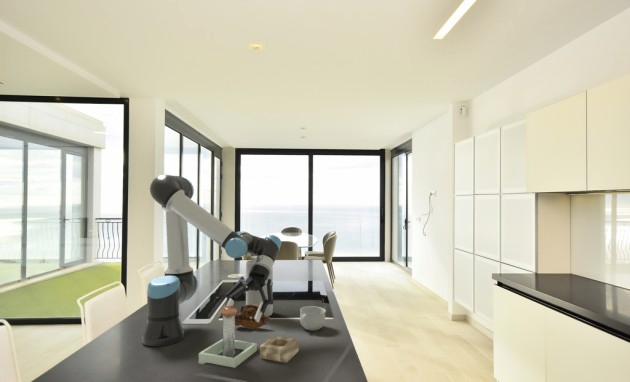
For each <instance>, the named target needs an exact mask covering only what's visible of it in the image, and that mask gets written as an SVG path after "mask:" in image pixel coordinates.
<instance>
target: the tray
mask: <svg viewBox="0 0 630 382" xmlns="http://www.w3.org/2000/svg"><path fill="white" fill-rule="evenodd" d="M257 347H258V343H256V342H249V341H244V340H236V339H235V349H238V350H242V352H239V354H237V355H235V356H234V357H226V356H223V355H220V354H221V353H223V338H222V339H220V340H218V341H216V342H215V343H213V344H211V345H210V346H208V347H207V348H205V349H202V351H200V352H199V353H198V365H204V364H206V363H207V364H214V365H217V366H224V367H229V368H234V369H236V368H237V367H238V366H239V365H240V364H241V363H243V362H245V361H246V360H247V359H248V358H250V357H251V355H253V354H255V353H256V352H257V351H258V348H257Z"/></svg>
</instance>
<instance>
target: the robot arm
mask: <svg viewBox="0 0 630 382" xmlns="http://www.w3.org/2000/svg"><path fill="white" fill-rule="evenodd" d="M149 186H150V187H149V193H150V196H151V197H152V199H153V200H155V202H157V204H159V205H161V209H162V210H163V211H164V212H165V222H166V223H165V224H166V248H167V249H166V250H167V268H166V269H165V270H164V275H162V276H160V277H156V278H153V279H151V280H150V281H149V282H148V284H147V290H146V296H147V297H146V298H147V306H146V308H147V310H146V312H147V313H146V314H147V317H146V318H147V319H146V320H147V321H146V324H145V327H144V330H143V333H142V335H141V336H142V337H141V342H142V344H143V345H145V346H147V347H162V346H168V345H172V344H175V343H178V342H180V341H181V340H183V339H184V337H185V331H184V329H185V328H183V325H182V321H181V319H180V305H181V304H182V303H185V302H186V301H189V300H190V299H191V298H192V297H193V296H194V295H195V293H196V292H197V290H198V286H199V281H198V278H197V277H196V276H195V274H194V268H193V267H192V266H190V254H189V253H190V249H189V247H190V246H189V230H188V229H189V227H188V223H189V224H190V225H192V226H193V227H195V228H196V229H197V230H198V231H199V232H201V233H202V234H204V235H205V236H207V237H208V238H209V239H210V240H212V241H214V243H216V244H218V246H220V247H222V248H223V249H224V251H225V253H226V255H227V256H228V257H230V258H231V259H238V258H242V257H244V256H245V255H247V254H251V255H255V256H256V258H255V259H254V260H255V262H254V264H253V266H252V268H251V271H250V273H249V277H248V278H247V279H246V277H244V276H240V278H239V280H238V281H237V282H236V283H234V285H232V287H230V289H229V290H228V291H226V293H225V294H224V296H225V298H226V299H227V300H226V302H225V303H224V306H234V304H235V300H236V299H237V298H239V297H240V296H242V295H243V294H246V291H249V290H251V291H253V290H254V291H257V290H259V292H260V295H261V297H262V300H263V302H261V303H260V305H259V308H258V310H257V312H256V315H255V317H254V319H255V320H256V321H257V322H259V321H260V318H261V315H262V313H264V312H265V310H266V308H267V305H269V304H271V305H272V304H273V305H274V295H273V294H274V293H273V294H272V285H273V284H274V282H272V281H271V279H268V277H269V274H270V272H271V269H272V267H273V266H274V264H275V261H276V260H277V257H278V254H279V252H280V249H281V247H282V240H281V238H279V236H277V235H274V234H268V235H266V236H265V237H259V236H256V235H253V234H250V233H247V232H243V231H236V232H235V231H234V230H233V229H232V228H230V227H229V226H228V225H227V224H225V223H223V222H222V221H221V220H219V219H218V218H217V217H216V216H214V215H212V213H210V212H208V211H207V210H206V209H205V208H204V207H202V206H201V205H199V204H198V203H196V202H195V201H194V200H192V198H193V196H194V192H195V190H194V189H195V188H194V186H193V184H192V182H191V181H190V180H189V179H188V178H186V177H184V176H180V175H170V174H161V175H158V176H155V178H153V180H152V182H151V184H150V185H149ZM267 279H268V280H267ZM264 285H267V294H268V300H267V298H266V296H265V293H264V290H263V288H262V287H263V286H264ZM246 286H247V287H248V288H246ZM273 286H274V285H273Z"/></svg>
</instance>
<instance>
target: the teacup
mask: <svg viewBox="0 0 630 382" xmlns="http://www.w3.org/2000/svg"><path fill="white" fill-rule="evenodd" d="M299 311H300V313H299V314H300V315H299V322H300V325H301V326H302V327H303V328H304V330H307V331H311V332H312V331H313V332H315V331H318V330H321V328H323V327H324V325H325V321H326V312H327V310H326V309H325V308H323V307H321V306H315V305H307V306H303V307H301V308H299Z"/></svg>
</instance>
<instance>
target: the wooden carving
mask: <svg viewBox="0 0 630 382" xmlns="http://www.w3.org/2000/svg"><path fill="white" fill-rule="evenodd" d="M258 308H259V305H256V304H248V305H246V304H243V305H241V308H240V312H241V313H240V312H239V313H238V312H237V313H236V314H235V327H239V326H241V327H242V328H245V329H247V330H248V329H249V330H255V329H259V328H261V327H263V326H265V325H267V322H266V321H267V320H269V319H271V317H270V316H267V317H266V316H264V313H262V315H261V318H260V321H259V322H257V321H256V320H255V319H254V317H255V315H256V312H257V310H258Z"/></svg>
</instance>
